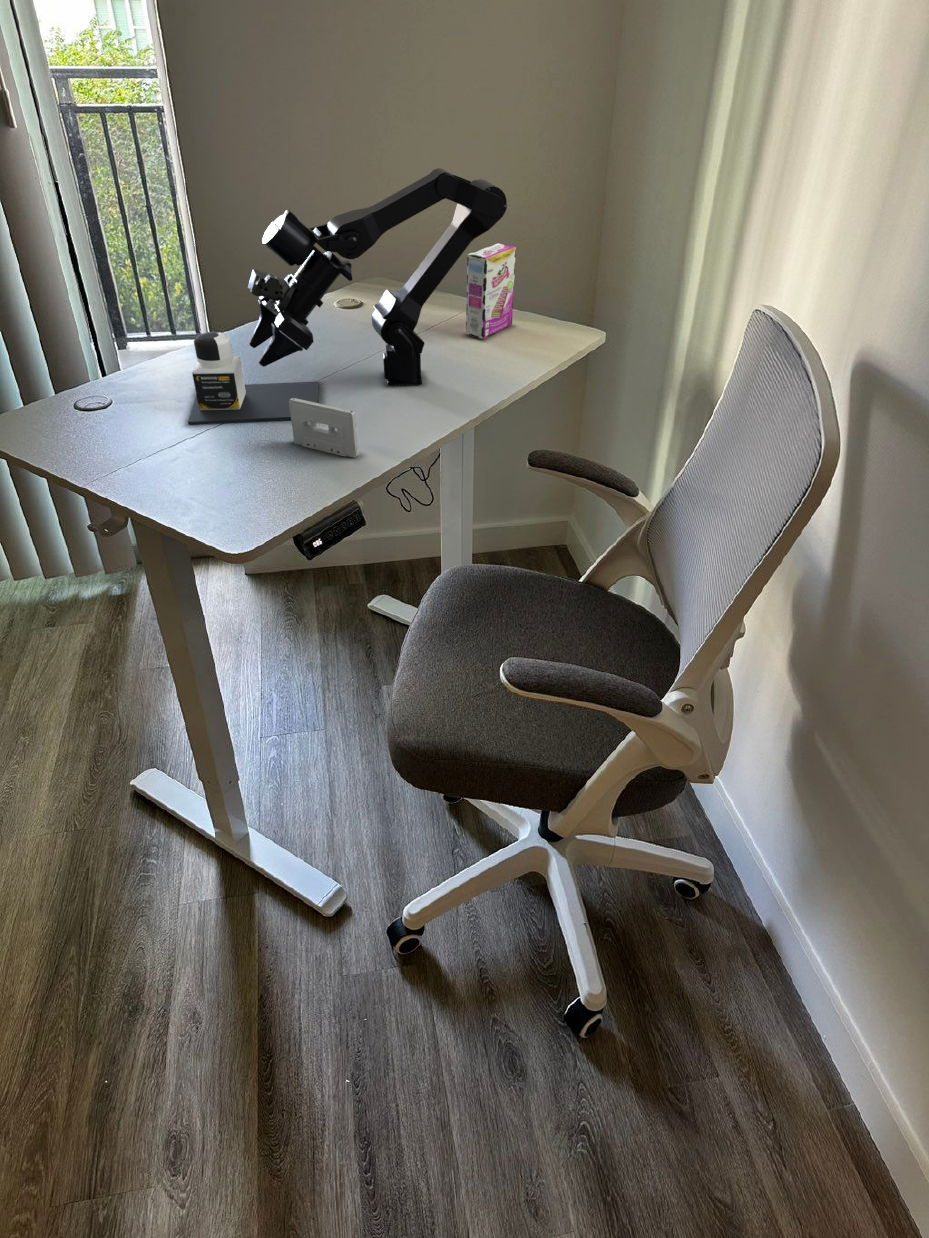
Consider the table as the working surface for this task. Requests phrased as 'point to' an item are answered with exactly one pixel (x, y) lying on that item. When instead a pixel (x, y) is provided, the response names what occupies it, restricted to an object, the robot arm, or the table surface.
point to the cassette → (330, 439)
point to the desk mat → (259, 404)
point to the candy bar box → (490, 290)
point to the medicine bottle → (217, 373)
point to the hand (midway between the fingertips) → (256, 355)
